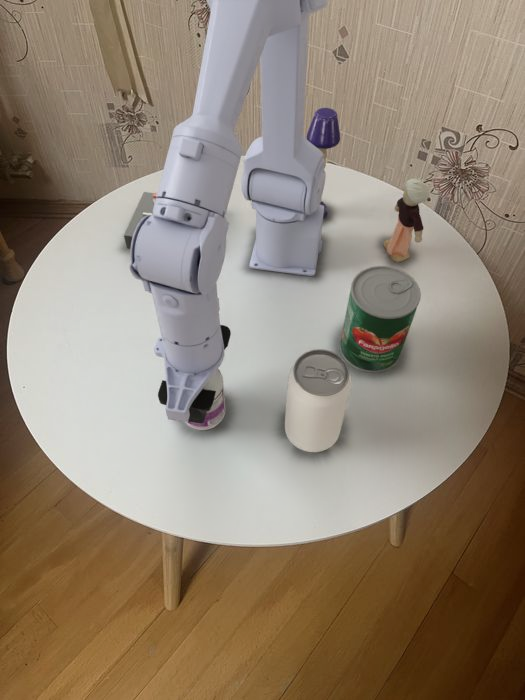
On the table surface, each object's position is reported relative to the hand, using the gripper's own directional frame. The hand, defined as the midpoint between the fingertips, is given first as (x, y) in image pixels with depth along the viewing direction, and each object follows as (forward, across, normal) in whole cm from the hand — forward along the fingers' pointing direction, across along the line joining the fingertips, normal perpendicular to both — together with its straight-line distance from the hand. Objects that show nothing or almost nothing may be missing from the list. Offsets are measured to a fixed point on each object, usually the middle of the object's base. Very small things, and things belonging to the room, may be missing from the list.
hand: (201, 396), depth 65 cm
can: (+4, 0, +13) cm, 13 cm away
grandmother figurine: (+4, -31, +22) cm, 38 cm away
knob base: (+3, -30, -12) cm, 32 cm away
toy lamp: (+4, -38, +9) cm, 39 cm away
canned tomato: (+4, -13, +19) cm, 23 cm away
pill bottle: (+4, 0, 0) cm, 4 cm away
